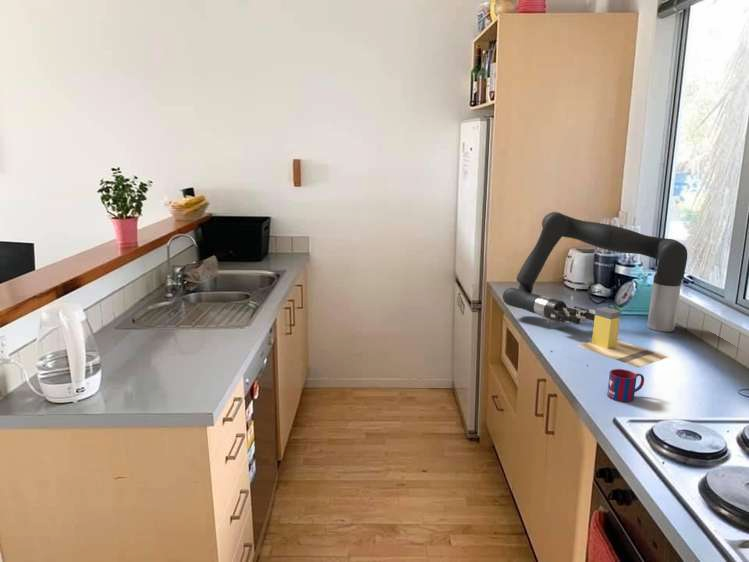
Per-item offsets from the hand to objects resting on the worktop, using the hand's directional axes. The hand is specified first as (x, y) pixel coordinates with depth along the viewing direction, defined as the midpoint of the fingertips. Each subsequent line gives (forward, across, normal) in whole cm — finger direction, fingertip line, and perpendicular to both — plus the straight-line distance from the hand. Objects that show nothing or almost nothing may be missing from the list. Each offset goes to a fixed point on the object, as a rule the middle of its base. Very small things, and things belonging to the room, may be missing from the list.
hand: (587, 319), depth 201 cm
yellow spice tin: (+7, 0, +7) cm, 10 cm away
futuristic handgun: (-20, +18, +9) cm, 28 cm away
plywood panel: (+14, 0, +8) cm, 16 cm away
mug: (+34, -29, +8) cm, 46 cm away
